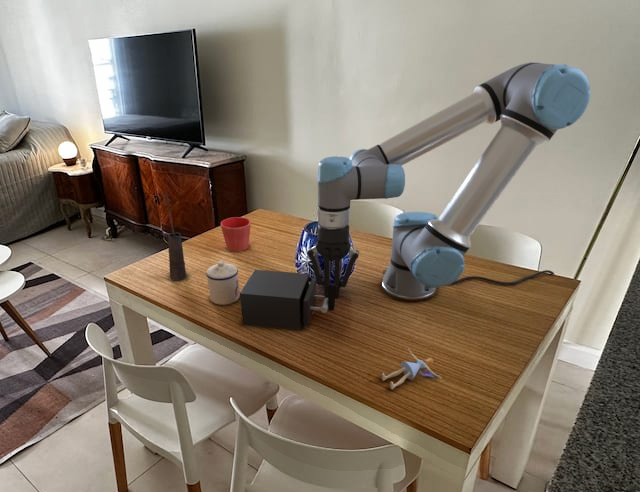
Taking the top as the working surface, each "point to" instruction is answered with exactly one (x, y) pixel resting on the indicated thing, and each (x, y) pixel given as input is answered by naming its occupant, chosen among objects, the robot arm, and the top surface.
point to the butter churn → (175, 252)
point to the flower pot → (236, 233)
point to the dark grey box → (273, 299)
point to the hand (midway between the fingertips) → (331, 308)
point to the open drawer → (311, 302)
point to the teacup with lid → (223, 283)
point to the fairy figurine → (410, 370)
